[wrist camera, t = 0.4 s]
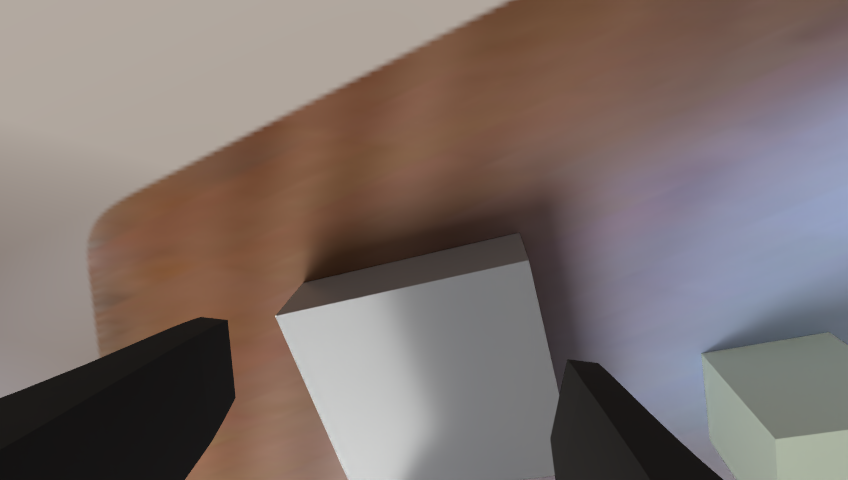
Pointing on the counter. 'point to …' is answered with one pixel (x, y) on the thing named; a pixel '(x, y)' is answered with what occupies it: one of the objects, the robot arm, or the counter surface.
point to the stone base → (430, 365)
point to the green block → (780, 408)
